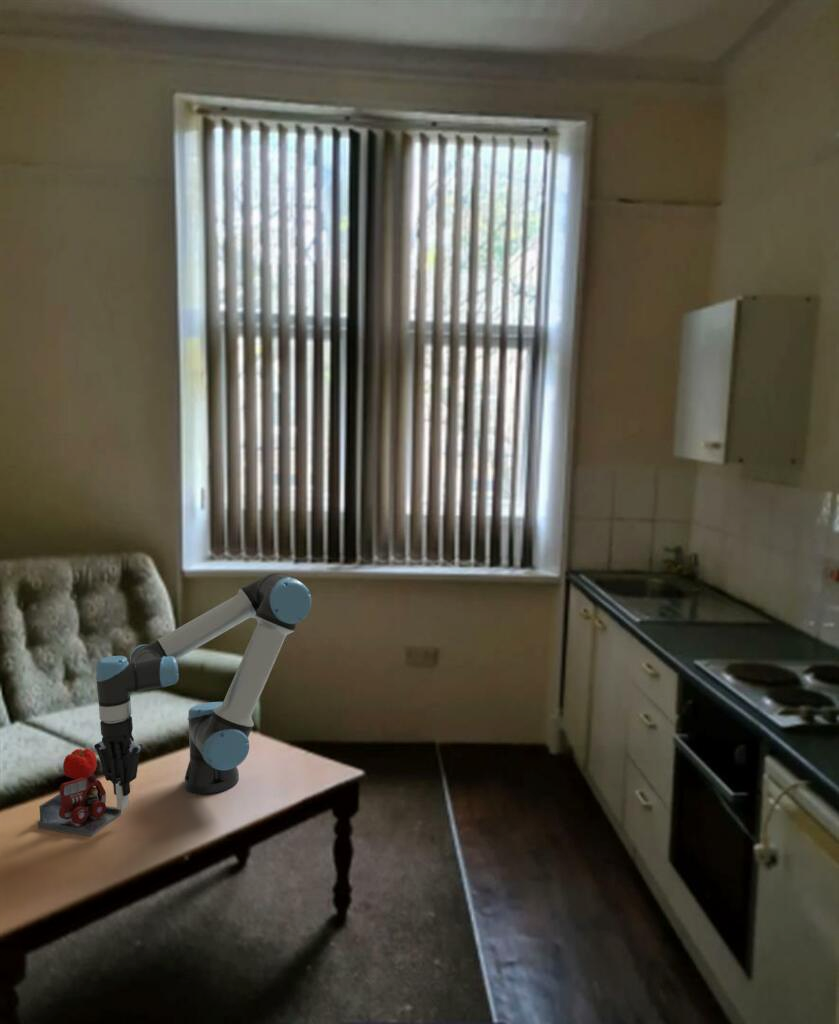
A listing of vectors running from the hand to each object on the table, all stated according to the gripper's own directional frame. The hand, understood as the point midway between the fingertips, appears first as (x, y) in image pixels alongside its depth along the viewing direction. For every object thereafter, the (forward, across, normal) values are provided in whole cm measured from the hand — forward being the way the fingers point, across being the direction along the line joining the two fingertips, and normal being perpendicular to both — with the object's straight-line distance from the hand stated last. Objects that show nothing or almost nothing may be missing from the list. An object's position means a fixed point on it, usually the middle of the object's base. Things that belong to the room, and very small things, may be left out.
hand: (123, 806), depth 192 cm
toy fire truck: (+4, +11, +2) cm, 12 cm away
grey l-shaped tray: (+5, +12, +1) cm, 13 cm away
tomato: (+5, +31, -22) cm, 38 cm away
